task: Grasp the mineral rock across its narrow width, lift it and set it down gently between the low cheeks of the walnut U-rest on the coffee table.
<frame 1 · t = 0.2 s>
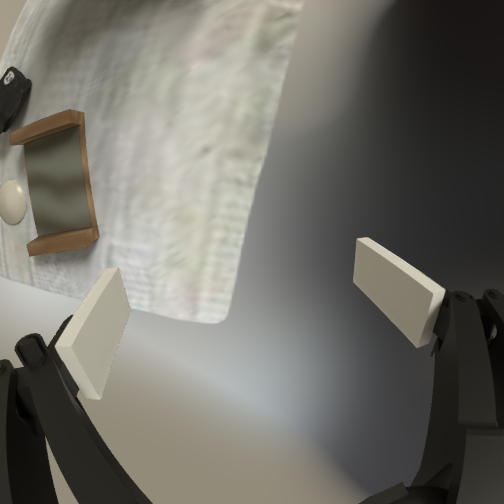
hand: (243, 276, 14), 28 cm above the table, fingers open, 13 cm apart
cream glossy rounded part: (12, 201, 34), on the table
mineral: (20, 99, 28), on the table
rest: (58, 182, 35), on the table
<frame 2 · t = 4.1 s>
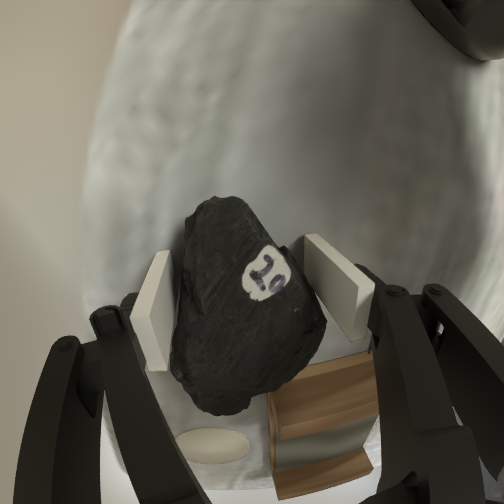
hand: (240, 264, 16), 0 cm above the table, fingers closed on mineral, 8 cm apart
cream glossy rounded part: (211, 443, 23), on the table
mineral: (242, 291, 17), on the table, touching gripper
rest: (325, 422, 24), on the table
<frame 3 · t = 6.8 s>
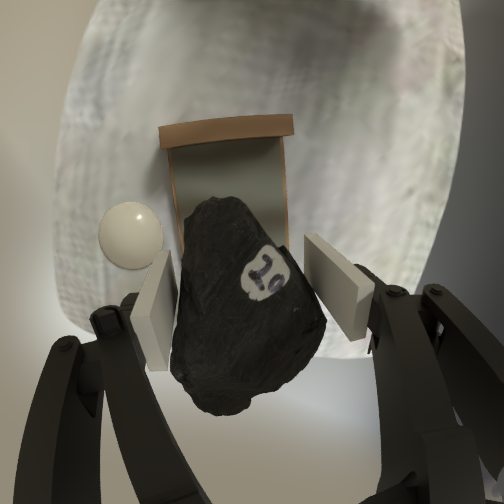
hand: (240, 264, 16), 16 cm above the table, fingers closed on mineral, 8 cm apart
cream glossy rounded part: (131, 234, 30), on the table
mineral: (242, 291, 17), point 15 cm above the table, touching gripper
rest: (232, 212, 31), on the table
when the fingers open (3 cm above the table, at t = 9.6 s): mineral drops 1 cm, resting on rest.
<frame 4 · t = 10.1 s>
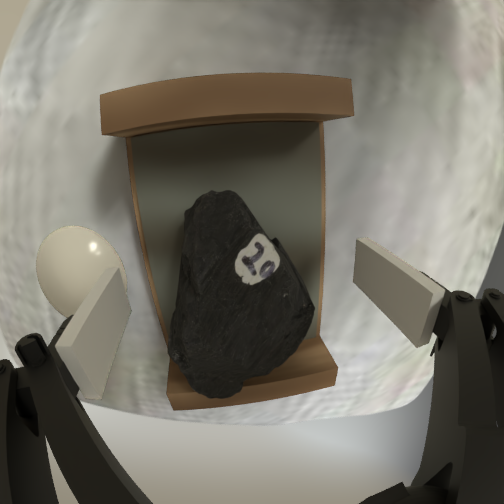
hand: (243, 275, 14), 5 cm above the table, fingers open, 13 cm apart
cream glossy rounded part: (81, 275, 18), on the table
mineral: (236, 280, 18), point 1 cm above the table, touching rest
rest: (234, 245, 19), on the table
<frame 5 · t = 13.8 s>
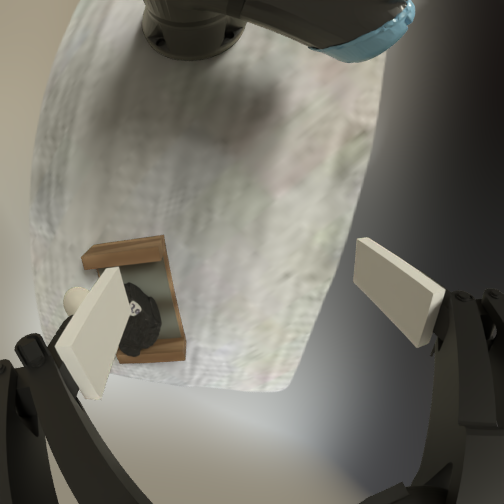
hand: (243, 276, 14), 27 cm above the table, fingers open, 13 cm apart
cream glossy rounded part: (83, 305, 42), on the table
mineral: (140, 310, 42), point 1 cm above the table, touching rest
rest: (140, 297, 43), on the table
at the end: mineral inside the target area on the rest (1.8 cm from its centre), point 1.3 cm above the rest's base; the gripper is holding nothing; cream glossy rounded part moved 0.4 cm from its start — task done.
